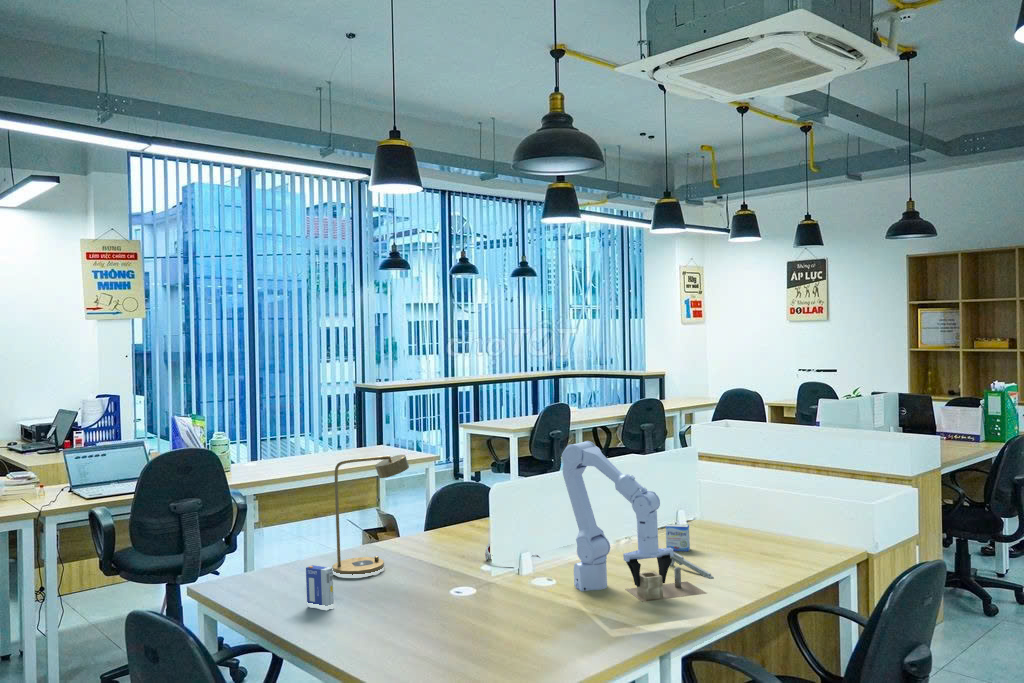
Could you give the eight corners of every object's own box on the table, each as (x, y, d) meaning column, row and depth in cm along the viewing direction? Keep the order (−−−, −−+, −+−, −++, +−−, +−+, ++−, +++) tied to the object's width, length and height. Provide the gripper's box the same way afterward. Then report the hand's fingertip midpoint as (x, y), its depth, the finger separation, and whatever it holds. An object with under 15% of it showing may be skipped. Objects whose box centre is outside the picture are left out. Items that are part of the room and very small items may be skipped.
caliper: (666, 565, 254) (665, 546, 254) (668, 564, 255) (667, 545, 255) (711, 579, 237) (710, 559, 237) (714, 579, 237) (713, 558, 237)
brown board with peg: (642, 607, 213) (641, 580, 213) (625, 594, 225) (624, 568, 225) (707, 598, 219) (706, 572, 219) (687, 586, 230) (686, 561, 230)
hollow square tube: (645, 600, 215) (644, 578, 215) (637, 594, 220) (636, 573, 220) (663, 597, 216) (662, 576, 216) (654, 592, 221) (653, 571, 221)
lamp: (418, 570, 259) (414, 456, 259) (337, 582, 248) (333, 463, 249) (405, 558, 275) (401, 451, 275) (328, 569, 264) (324, 458, 265)
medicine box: (666, 550, 271) (665, 526, 271) (667, 547, 275) (666, 523, 276) (689, 551, 269) (688, 526, 269) (690, 548, 273) (689, 524, 273)
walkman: (307, 607, 224) (305, 566, 224) (313, 605, 226) (312, 563, 226) (327, 611, 220) (325, 569, 220) (334, 608, 222) (332, 566, 222)
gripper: (629, 541, 212) (631, 591, 212) (677, 536, 216) (679, 584, 216) (619, 536, 219) (621, 584, 219) (666, 530, 223) (668, 578, 223)
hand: (649, 584), depth 218 cm, fingers open, 7 cm apart
